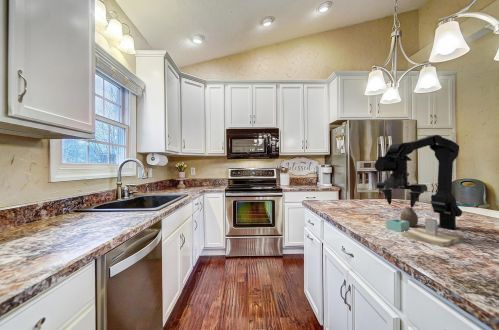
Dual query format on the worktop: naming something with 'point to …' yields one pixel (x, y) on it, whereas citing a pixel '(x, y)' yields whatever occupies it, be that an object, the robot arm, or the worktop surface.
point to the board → (433, 237)
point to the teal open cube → (397, 225)
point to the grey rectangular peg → (431, 226)
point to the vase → (409, 216)
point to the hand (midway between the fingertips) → (400, 205)
